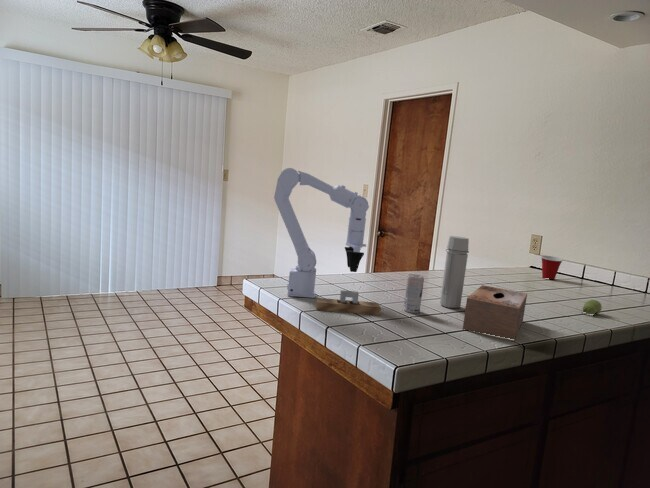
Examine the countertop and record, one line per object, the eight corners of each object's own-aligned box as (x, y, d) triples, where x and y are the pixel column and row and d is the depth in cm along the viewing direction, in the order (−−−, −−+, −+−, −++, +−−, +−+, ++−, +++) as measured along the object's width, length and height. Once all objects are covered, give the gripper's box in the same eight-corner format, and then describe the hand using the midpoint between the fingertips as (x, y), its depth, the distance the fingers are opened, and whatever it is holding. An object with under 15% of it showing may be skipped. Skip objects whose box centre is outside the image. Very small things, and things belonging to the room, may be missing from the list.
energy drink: (420, 310, 152) (425, 275, 150) (418, 314, 147) (423, 278, 145) (404, 307, 153) (409, 273, 152) (402, 311, 148) (406, 275, 147)
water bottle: (445, 302, 167) (454, 235, 164) (464, 307, 162) (474, 239, 158) (432, 305, 161) (441, 235, 157) (451, 311, 155) (461, 239, 152)
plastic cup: (540, 279, 238) (544, 257, 237) (534, 275, 249) (538, 254, 247) (562, 282, 237) (566, 260, 235) (555, 278, 247) (559, 257, 246)
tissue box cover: (513, 342, 128) (519, 308, 127) (462, 330, 135) (467, 298, 134) (522, 322, 151) (527, 293, 150) (478, 312, 158) (482, 285, 156)
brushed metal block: (339, 310, 142) (341, 292, 141) (338, 308, 145) (340, 290, 144) (356, 311, 143) (358, 293, 142) (355, 309, 145) (357, 291, 144)
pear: (604, 300, 172) (595, 307, 165) (603, 313, 173) (593, 321, 167) (588, 296, 176) (579, 303, 169) (587, 309, 177) (577, 316, 171)
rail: (316, 309, 140) (317, 302, 140) (316, 305, 146) (316, 297, 145) (380, 315, 142) (381, 307, 141) (377, 310, 147) (378, 302, 147)
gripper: (370, 234, 148) (366, 274, 150) (364, 229, 163) (360, 266, 165) (349, 232, 148) (345, 272, 150) (345, 227, 162) (341, 264, 164)
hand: (351, 269), depth 157 cm, fingers open, 7 cm apart
